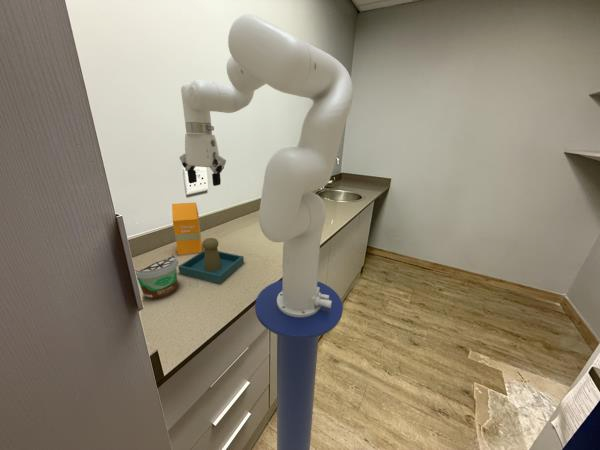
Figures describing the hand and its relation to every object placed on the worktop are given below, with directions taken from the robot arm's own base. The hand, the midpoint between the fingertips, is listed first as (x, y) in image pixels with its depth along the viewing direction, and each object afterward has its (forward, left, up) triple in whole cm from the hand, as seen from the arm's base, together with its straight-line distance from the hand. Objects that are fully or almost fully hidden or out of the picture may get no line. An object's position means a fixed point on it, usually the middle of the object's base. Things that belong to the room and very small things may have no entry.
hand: (204, 183), depth 82 cm
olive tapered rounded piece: (-3, +4, -29) cm, 30 cm away
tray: (-3, +4, -30) cm, 30 cm away
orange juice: (+15, -5, -30) cm, 34 cm away
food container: (+1, +21, -30) cm, 37 cm away
